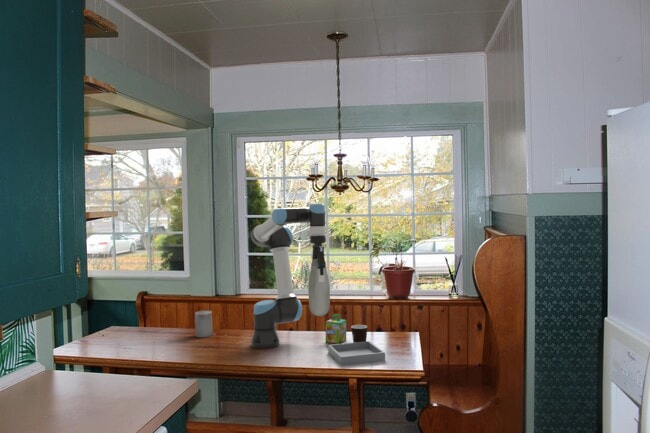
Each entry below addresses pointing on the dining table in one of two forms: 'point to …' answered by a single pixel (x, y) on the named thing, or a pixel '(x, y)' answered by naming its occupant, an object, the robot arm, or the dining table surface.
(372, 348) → the tray
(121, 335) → the dining table surface
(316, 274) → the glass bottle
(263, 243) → the robot arm
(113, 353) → the dining table surface
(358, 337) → the coffee mug
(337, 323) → the chalk box
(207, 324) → the pillar candle
